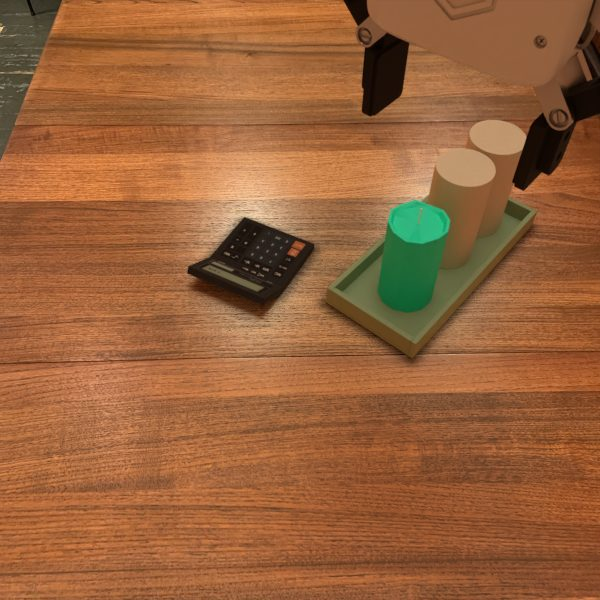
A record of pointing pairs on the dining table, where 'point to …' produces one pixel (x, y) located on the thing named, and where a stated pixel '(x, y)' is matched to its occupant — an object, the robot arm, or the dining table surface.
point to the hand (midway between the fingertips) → (452, 138)
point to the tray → (447, 292)
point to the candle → (412, 255)
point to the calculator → (254, 261)
